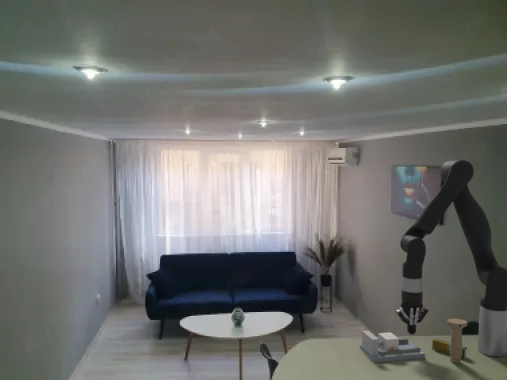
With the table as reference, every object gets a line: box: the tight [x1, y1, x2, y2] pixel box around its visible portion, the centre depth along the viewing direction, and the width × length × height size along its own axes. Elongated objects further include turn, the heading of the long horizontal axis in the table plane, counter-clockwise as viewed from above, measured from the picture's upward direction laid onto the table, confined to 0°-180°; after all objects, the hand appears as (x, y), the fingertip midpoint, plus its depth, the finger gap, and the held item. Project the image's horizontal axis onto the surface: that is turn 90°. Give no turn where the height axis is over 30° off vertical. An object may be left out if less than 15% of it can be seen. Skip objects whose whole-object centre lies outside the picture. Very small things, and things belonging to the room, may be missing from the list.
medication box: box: [431, 337, 468, 360], centre depth 165 cm, size 12×3×4 cm, turn 46°
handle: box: [446, 318, 468, 364], centre depth 157 cm, size 5×6×15 cm
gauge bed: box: [359, 330, 426, 363], centre depth 164 cm, size 20×12×8 cm, turn 101°
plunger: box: [377, 331, 400, 350], centre depth 162 cm, size 8×8×5 cm
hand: (411, 333), depth 165 cm, fingers closed
